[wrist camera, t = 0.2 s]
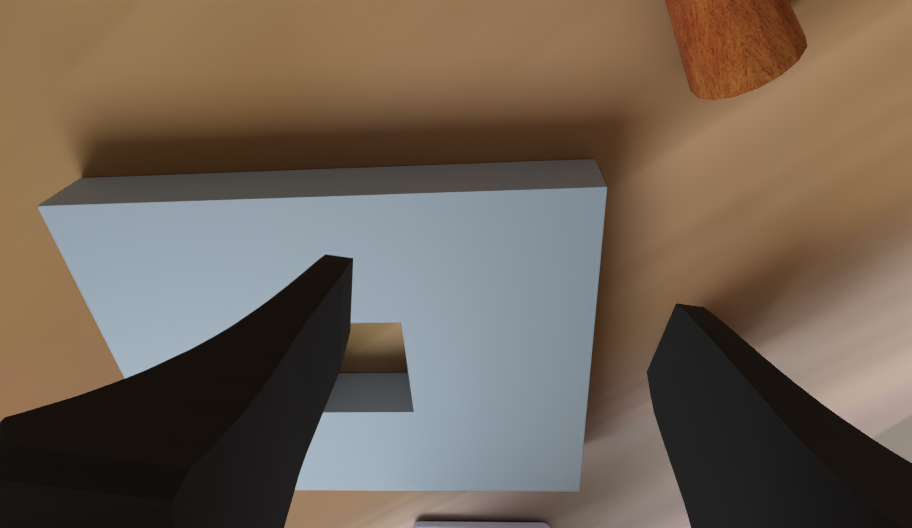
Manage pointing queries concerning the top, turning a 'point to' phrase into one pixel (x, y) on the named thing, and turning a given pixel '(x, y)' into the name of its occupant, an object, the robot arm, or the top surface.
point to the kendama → (735, 43)
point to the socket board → (374, 302)
